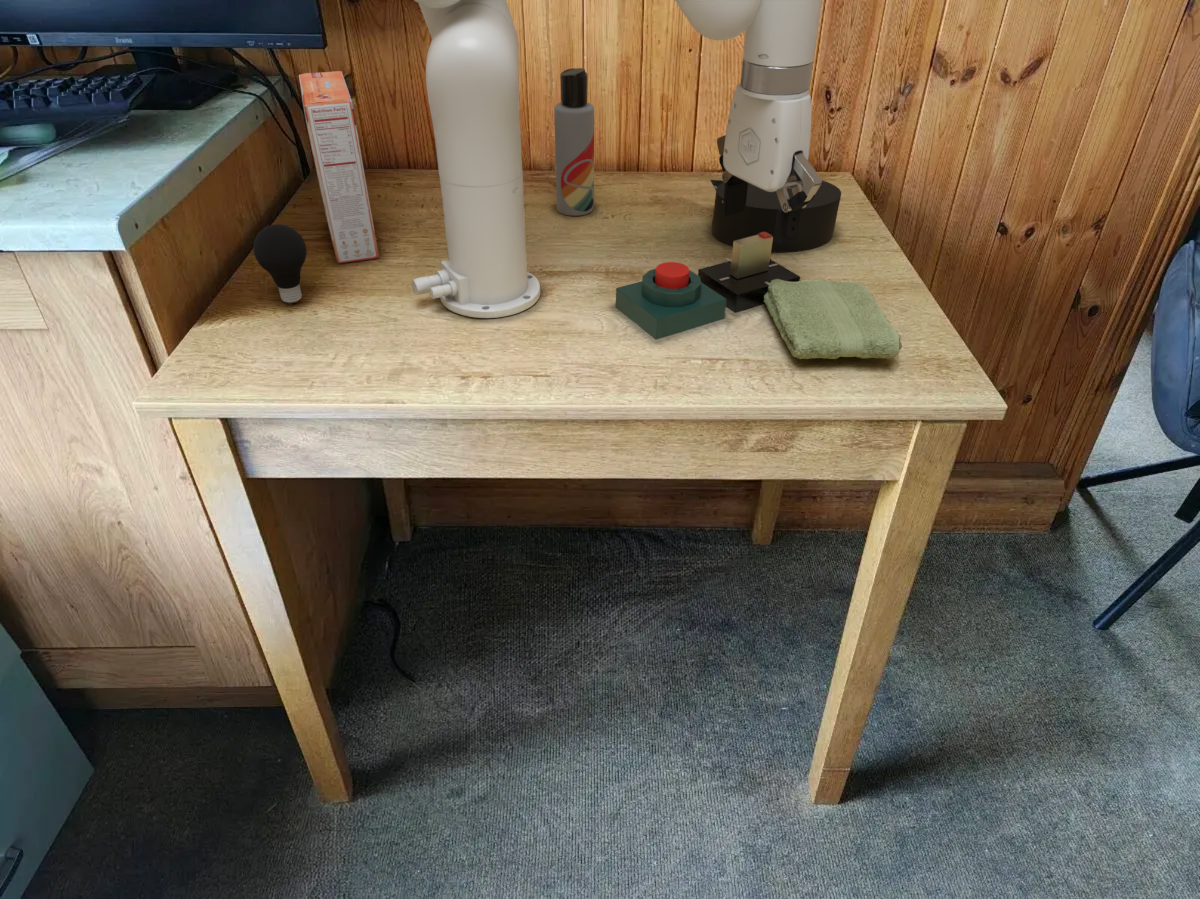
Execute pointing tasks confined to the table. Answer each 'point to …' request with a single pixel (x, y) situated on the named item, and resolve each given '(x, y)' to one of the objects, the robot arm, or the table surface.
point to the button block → (669, 305)
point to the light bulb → (282, 258)
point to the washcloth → (830, 320)
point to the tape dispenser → (762, 217)
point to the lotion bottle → (574, 145)
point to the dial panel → (743, 284)
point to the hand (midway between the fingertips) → (758, 226)
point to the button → (672, 275)
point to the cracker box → (339, 165)
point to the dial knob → (751, 255)
